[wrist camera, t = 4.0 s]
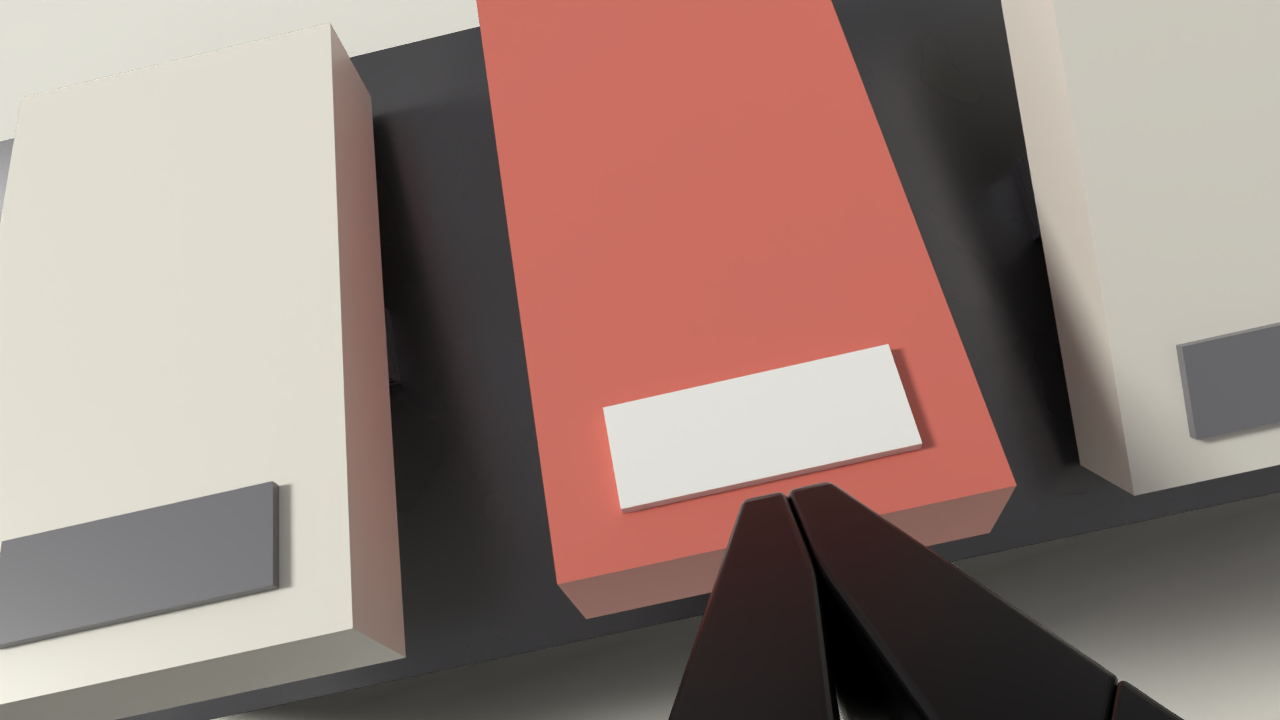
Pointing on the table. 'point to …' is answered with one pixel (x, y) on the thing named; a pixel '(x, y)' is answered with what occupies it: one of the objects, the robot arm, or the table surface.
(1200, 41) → the rocker
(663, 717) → the table surface
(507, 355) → the grey cartridge tray
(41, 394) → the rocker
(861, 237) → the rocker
